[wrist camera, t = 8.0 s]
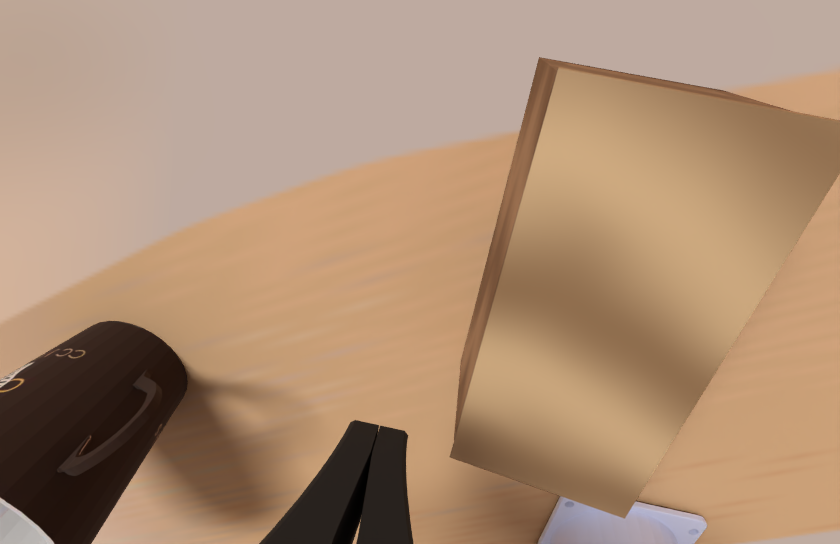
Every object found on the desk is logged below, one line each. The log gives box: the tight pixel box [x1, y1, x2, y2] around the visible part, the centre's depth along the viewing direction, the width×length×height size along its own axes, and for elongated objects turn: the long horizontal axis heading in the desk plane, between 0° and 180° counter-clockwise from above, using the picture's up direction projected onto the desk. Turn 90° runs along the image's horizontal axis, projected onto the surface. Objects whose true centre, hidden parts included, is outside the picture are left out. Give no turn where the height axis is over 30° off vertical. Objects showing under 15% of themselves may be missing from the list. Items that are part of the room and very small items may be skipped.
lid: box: [450, 67, 840, 519], centre depth 14 cm, size 14×7×1 cm, turn 171°
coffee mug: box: [0, 321, 187, 544], centre depth 22 cm, size 12×9×10 cm
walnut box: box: [454, 57, 790, 440], centre depth 17 cm, size 14×6×5 cm, turn 171°
